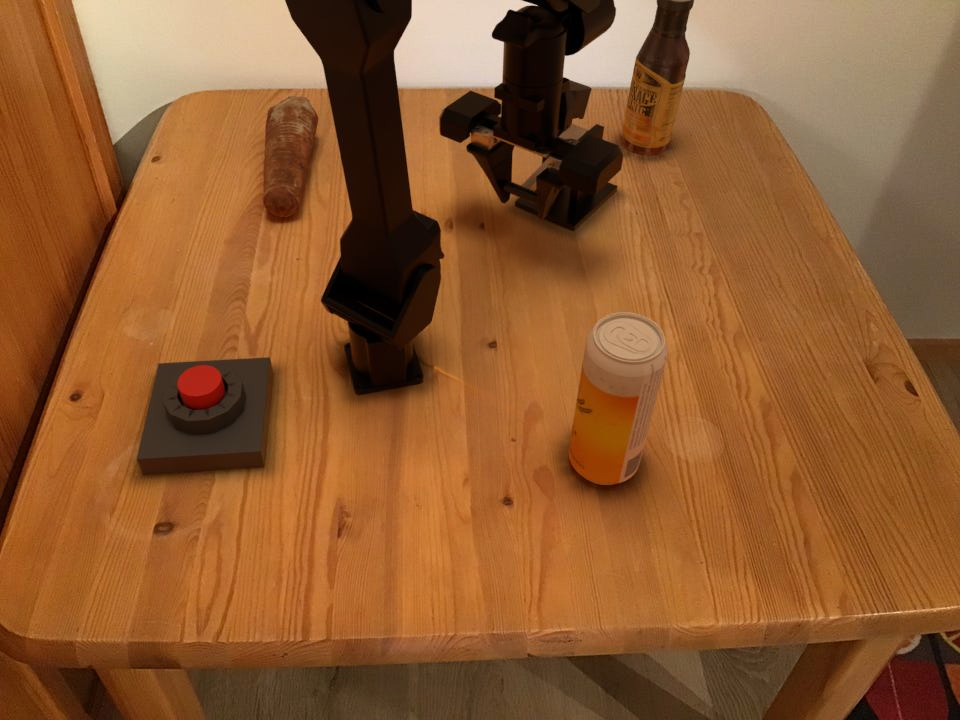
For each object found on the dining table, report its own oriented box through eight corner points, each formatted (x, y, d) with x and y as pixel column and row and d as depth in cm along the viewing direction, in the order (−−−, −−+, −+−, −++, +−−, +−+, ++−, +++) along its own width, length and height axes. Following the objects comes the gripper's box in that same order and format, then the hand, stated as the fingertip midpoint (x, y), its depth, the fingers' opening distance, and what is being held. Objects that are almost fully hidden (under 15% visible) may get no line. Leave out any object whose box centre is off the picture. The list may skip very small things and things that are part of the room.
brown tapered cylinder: (321, 134, 109) (316, 94, 105) (305, 223, 96) (298, 181, 92) (271, 133, 109) (265, 93, 105) (248, 223, 95) (240, 181, 91)
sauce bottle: (610, 139, 110) (634, -17, 96) (651, 129, 112) (680, -25, 98) (637, 165, 106) (667, 6, 92) (679, 154, 108) (714, -3, 93)
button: (222, 408, 71) (218, 394, 70) (178, 411, 71) (174, 397, 70) (227, 377, 74) (223, 363, 73) (185, 380, 74) (180, 365, 72)
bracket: (573, 235, 95) (583, 159, 88) (514, 209, 98) (519, 134, 91) (616, 194, 101) (628, 120, 94) (559, 171, 104) (567, 98, 97)
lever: (538, 212, 89) (538, 194, 87) (502, 197, 91) (502, 179, 89) (596, 150, 95) (597, 132, 93) (562, 137, 97) (562, 120, 95)
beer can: (593, 423, 76) (616, 297, 65) (651, 458, 73) (686, 333, 63) (553, 464, 73) (571, 339, 62) (613, 502, 70) (642, 378, 59)
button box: (264, 467, 72) (257, 437, 69) (143, 475, 71) (130, 445, 68) (273, 373, 79) (267, 343, 76) (164, 379, 78) (153, 349, 76)
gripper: (660, 69, 81) (636, 204, 92) (499, 17, 88) (495, 148, 99) (603, 118, 74) (584, 256, 86) (434, 57, 82) (437, 192, 93)
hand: (524, 209), depth 91 cm, fingers closed on lever, 4 cm apart
